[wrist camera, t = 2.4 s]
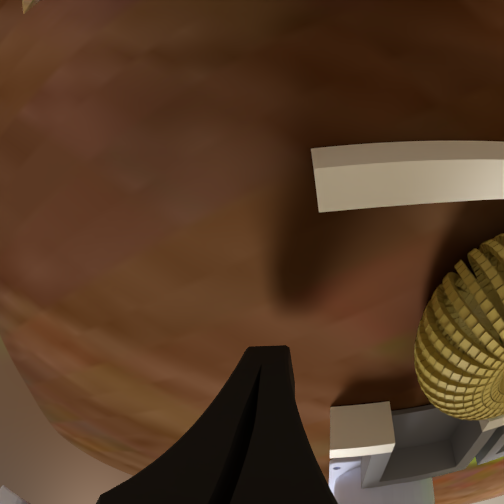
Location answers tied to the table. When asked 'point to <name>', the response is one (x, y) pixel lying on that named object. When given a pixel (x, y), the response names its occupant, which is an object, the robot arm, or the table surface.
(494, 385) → the sculpture
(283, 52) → the table surface
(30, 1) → the game die
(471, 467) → the table surface
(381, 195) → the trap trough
